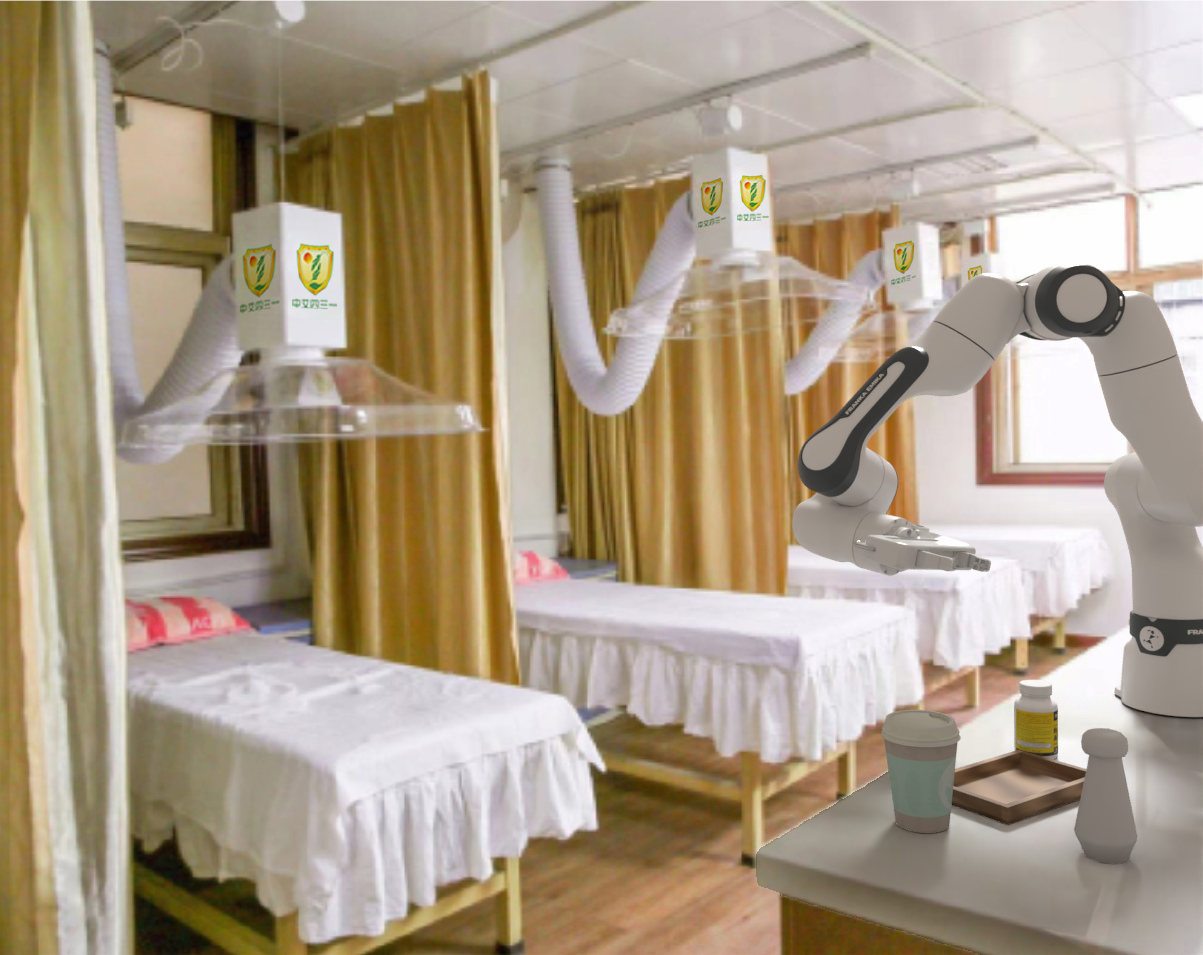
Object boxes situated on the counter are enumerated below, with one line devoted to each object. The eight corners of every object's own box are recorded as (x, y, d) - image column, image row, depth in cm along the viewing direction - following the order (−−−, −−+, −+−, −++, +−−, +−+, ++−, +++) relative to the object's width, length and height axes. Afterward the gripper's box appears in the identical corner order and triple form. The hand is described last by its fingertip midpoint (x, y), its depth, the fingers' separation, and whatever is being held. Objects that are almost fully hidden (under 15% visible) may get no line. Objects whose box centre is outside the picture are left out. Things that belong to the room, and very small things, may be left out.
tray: (1018, 764, 137) (1018, 749, 136) (1104, 790, 126) (1104, 774, 126) (923, 794, 127) (923, 778, 127) (1008, 825, 117) (1007, 807, 117)
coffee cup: (951, 844, 112) (949, 733, 112) (873, 830, 117) (870, 724, 116) (970, 817, 120) (968, 713, 119) (895, 805, 124) (893, 704, 124)
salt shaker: (1111, 872, 104) (1110, 743, 104) (1062, 852, 109) (1060, 729, 109) (1149, 859, 107) (1148, 733, 106) (1100, 840, 112) (1098, 720, 111)
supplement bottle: (1062, 762, 137) (1061, 688, 136) (1018, 761, 138) (1017, 687, 137) (1053, 749, 142) (1052, 678, 142) (1011, 748, 143) (1009, 677, 143)
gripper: (850, 521, 150) (936, 542, 139) (926, 526, 163) (1010, 545, 153) (842, 564, 150) (927, 588, 140) (919, 565, 164) (1001, 587, 154)
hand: (971, 566), depth 147 cm, fingers open, 8 cm apart
